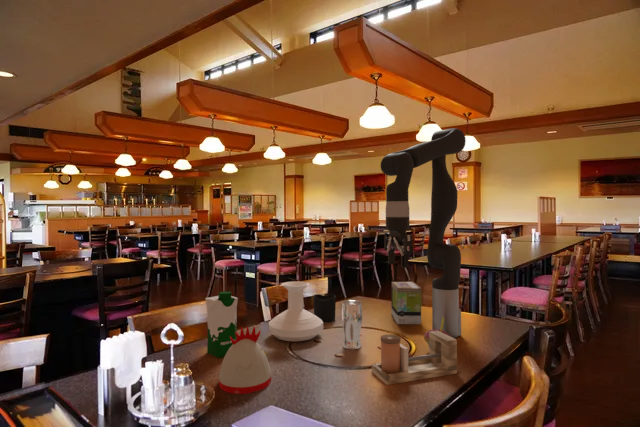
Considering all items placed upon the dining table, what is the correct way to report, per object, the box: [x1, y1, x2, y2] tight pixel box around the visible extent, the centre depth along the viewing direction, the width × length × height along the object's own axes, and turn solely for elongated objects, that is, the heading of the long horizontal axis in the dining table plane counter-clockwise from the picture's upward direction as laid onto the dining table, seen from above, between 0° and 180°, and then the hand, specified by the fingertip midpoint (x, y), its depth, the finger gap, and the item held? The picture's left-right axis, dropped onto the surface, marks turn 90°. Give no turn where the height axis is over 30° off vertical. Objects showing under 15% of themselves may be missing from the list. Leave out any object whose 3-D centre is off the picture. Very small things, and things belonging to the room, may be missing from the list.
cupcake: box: [423, 316, 451, 346], centre depth 131 cm, size 9×8×12 cm
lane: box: [371, 331, 458, 386], centre depth 115 cm, size 22×9×10 cm, turn 108°
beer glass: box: [341, 299, 363, 350], centre depth 137 cm, size 7×7×15 cm
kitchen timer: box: [218, 326, 272, 395], centre depth 110 cm, size 14×14×15 cm
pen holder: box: [312, 294, 337, 324], centre depth 170 cm, size 9×9×10 cm
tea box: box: [390, 281, 422, 325], centre depth 170 cm, size 15×10×15 cm, turn 179°
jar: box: [380, 334, 401, 374], centre depth 113 cm, size 5×5×10 cm
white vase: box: [268, 280, 324, 342], centre depth 149 cm, size 20×20×19 cm
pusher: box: [400, 343, 441, 372], centre depth 116 cm, size 19×6×7 cm, turn 108°
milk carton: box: [204, 290, 239, 359], centre depth 132 cm, size 9×9×20 cm
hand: (398, 265), depth 131 cm, fingers open, 8 cm apart
